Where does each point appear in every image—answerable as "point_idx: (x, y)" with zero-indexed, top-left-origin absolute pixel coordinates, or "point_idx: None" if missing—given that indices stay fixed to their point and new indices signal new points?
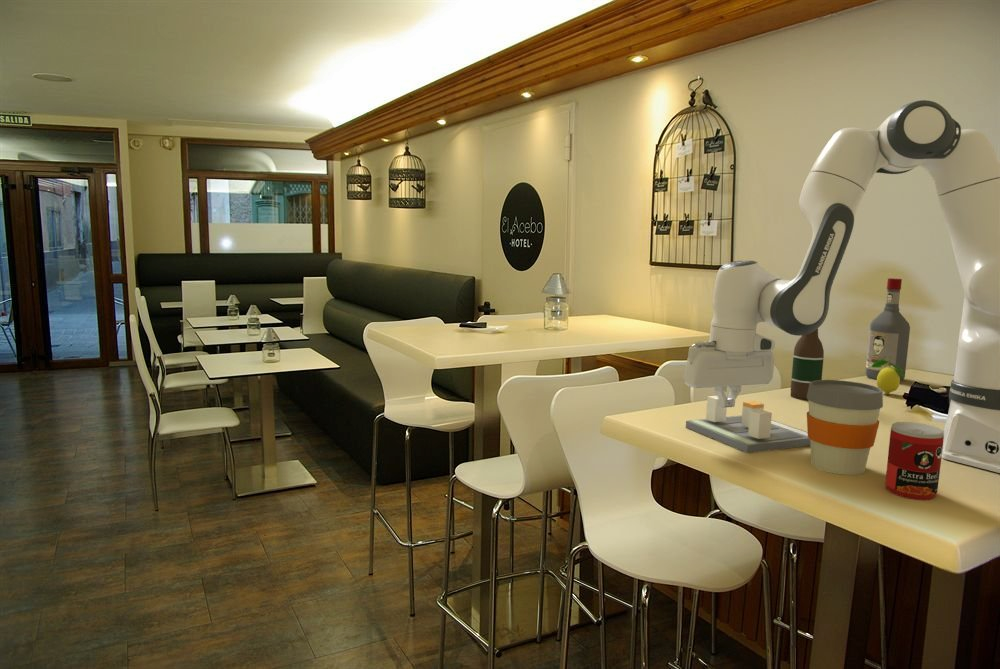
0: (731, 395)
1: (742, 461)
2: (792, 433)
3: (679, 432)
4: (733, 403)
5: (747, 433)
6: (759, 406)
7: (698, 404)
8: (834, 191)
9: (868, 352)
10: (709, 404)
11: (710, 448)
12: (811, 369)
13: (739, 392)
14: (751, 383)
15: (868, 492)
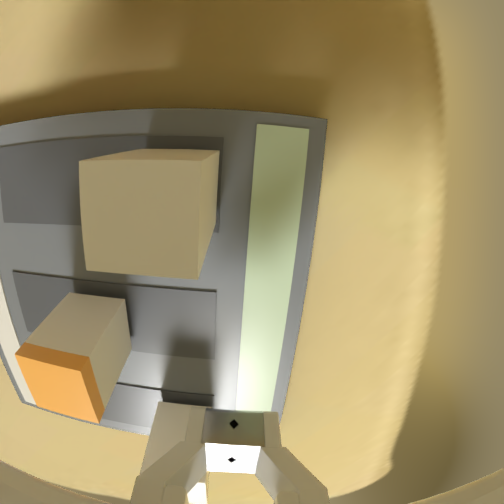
0: (195, 469)
1: (411, 63)
2: (4, 195)
3: (333, 402)
4: (201, 419)
5: None
6: (42, 353)
7: (104, 492)
8: None
9: None
10: (208, 474)
11: (399, 234)
12: None
13: (150, 469)
14: (45, 490)
15: None
